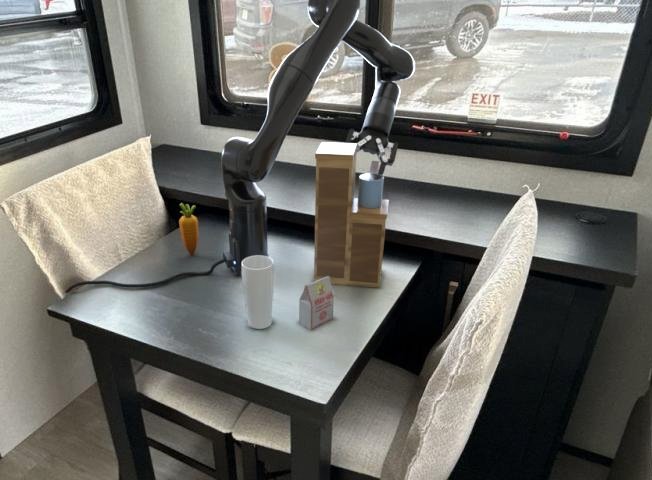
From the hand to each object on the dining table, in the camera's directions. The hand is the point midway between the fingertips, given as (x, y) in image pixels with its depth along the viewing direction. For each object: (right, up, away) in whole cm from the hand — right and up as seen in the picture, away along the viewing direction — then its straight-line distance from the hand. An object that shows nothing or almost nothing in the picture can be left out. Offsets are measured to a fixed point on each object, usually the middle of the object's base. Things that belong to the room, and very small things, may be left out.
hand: (363, 171), depth 148 cm
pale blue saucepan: (0, -9, -15) cm, 18 cm away
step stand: (-6, -29, -10) cm, 31 cm away
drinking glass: (-27, -40, -28) cm, 56 cm away
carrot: (-47, -23, +2) cm, 52 cm away
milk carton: (-15, -39, -28) cm, 50 cm away
